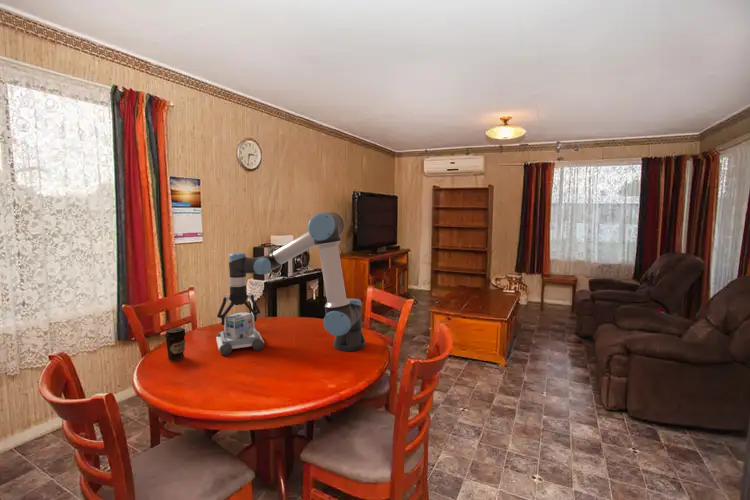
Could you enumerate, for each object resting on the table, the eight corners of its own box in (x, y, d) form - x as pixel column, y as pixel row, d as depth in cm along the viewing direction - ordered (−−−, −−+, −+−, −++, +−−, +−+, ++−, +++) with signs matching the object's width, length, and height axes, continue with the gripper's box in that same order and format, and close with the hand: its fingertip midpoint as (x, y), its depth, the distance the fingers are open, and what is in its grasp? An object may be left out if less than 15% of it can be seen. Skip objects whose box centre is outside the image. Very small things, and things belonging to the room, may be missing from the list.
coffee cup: (191, 357, 173) (190, 328, 171) (175, 363, 165) (173, 334, 164) (178, 354, 176) (176, 326, 175) (161, 360, 169) (159, 331, 167)
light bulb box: (235, 341, 181) (234, 318, 180) (225, 338, 184) (224, 316, 183) (253, 334, 190) (252, 313, 189) (244, 332, 193) (243, 311, 192)
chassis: (264, 349, 182) (264, 338, 182) (219, 356, 174) (218, 344, 173) (257, 336, 201) (257, 325, 201) (216, 341, 193) (215, 330, 192)
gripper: (263, 282, 193) (264, 324, 195) (210, 285, 183) (211, 330, 185) (265, 284, 186) (266, 328, 189) (210, 288, 176) (212, 335, 178)
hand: (239, 329), depth 187 cm, fingers closed on light bulb box, 12 cm apart
